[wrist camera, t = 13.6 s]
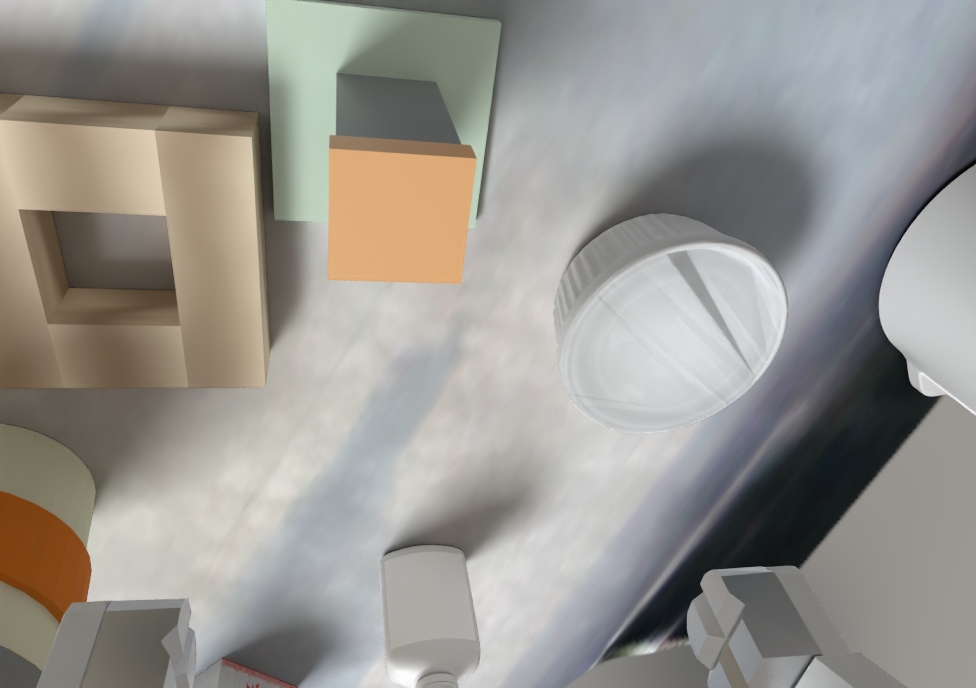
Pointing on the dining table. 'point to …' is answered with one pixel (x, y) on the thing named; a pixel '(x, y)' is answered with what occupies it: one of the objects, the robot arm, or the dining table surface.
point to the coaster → (371, 52)
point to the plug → (397, 184)
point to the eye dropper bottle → (428, 617)
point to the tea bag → (235, 677)
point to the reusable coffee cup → (39, 547)
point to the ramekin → (665, 323)
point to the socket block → (141, 191)
